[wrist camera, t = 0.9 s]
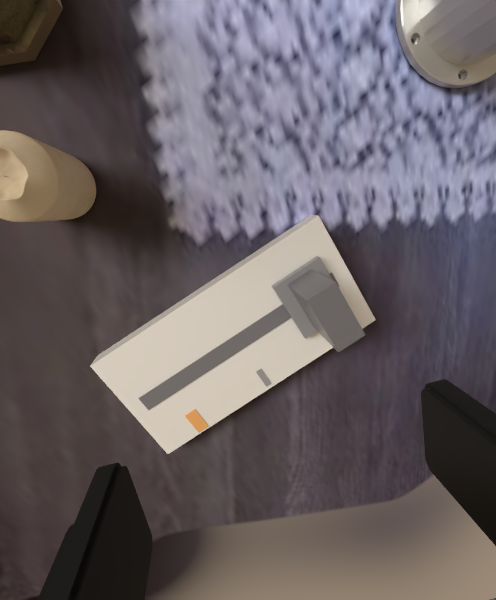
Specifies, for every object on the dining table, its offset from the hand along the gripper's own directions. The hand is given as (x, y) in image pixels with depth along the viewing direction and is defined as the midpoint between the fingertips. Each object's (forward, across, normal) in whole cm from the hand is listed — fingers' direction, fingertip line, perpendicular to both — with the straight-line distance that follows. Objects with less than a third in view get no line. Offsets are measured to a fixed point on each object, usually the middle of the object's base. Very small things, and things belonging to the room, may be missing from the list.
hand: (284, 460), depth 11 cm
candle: (+25, +12, -12) cm, 30 cm away
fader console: (+24, 0, +5) cm, 25 cm away
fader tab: (+22, -7, +2) cm, 23 cm away
